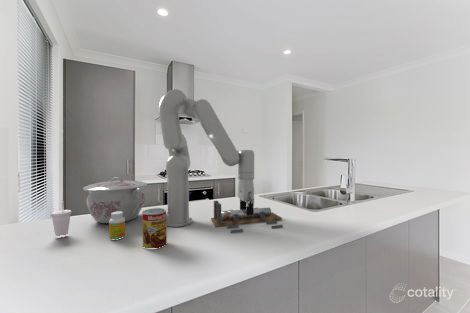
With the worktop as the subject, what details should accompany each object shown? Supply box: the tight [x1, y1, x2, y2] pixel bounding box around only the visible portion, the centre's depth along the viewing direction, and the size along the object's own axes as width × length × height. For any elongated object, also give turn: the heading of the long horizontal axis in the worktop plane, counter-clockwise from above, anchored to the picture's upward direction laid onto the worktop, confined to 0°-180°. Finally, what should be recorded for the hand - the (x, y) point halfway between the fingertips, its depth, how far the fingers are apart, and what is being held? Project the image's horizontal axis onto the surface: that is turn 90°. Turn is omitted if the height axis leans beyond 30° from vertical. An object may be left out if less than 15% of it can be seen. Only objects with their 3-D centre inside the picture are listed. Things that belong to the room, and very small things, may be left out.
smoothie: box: [50, 200, 72, 237], centre depth 87 cm, size 6×6×14 cm
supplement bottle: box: [108, 211, 126, 240], centre depth 85 cm, size 5×5×10 cm
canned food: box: [141, 207, 168, 248], centre depth 79 cm, size 8×8×12 cm
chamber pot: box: [82, 176, 148, 225], centre depth 108 cm, size 28×28×21 cm
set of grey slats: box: [226, 221, 284, 234], centre depth 96 cm, size 23×6×1 cm, turn 107°
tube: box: [221, 207, 272, 220], centre depth 106 cm, size 24×4×4 cm, turn 107°
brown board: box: [210, 200, 283, 228], centre depth 106 cm, size 32×10×9 cm, turn 107°
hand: (246, 212), depth 106 cm, fingers open, 9 cm apart
